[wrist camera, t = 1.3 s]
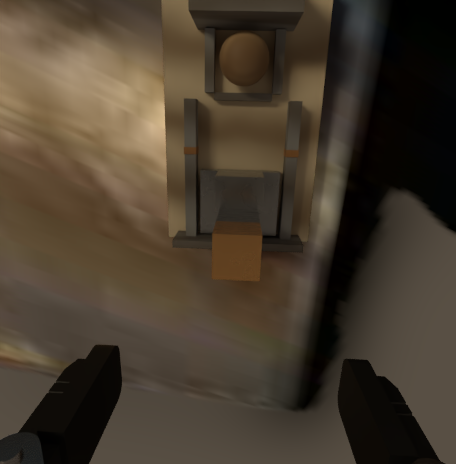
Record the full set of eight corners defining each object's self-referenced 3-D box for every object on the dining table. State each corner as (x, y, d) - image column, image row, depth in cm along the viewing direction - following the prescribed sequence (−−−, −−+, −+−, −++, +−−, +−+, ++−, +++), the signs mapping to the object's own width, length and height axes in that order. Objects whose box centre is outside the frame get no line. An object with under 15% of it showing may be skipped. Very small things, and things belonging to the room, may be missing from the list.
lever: (202, 168, 31) (180, 191, 20) (278, 170, 31) (297, 195, 20) (201, 229, 33) (182, 279, 22) (274, 232, 33) (289, 283, 22)
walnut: (221, 36, 28) (218, 23, 24) (268, 37, 28) (272, 24, 24) (220, 88, 29) (217, 82, 25) (266, 89, 29) (269, 84, 25)
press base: (166, -11, 29) (143, -52, 22) (329, -9, 28) (355, -50, 22) (172, 230, 36) (156, 255, 29) (304, 235, 35) (318, 261, 28)
